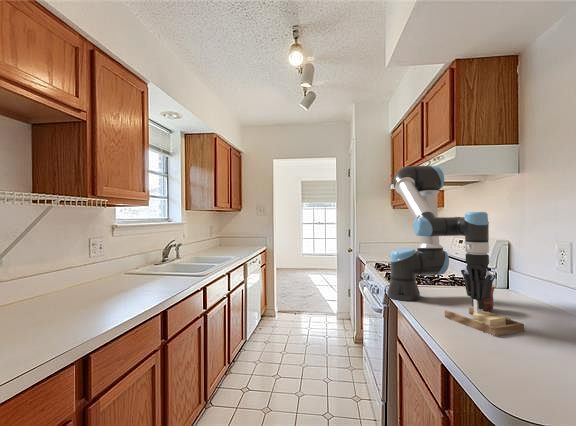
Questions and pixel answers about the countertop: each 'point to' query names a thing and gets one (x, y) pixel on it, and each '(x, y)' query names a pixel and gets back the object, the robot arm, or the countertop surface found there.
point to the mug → (489, 301)
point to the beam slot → (495, 331)
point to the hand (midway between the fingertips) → (478, 317)
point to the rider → (490, 319)
